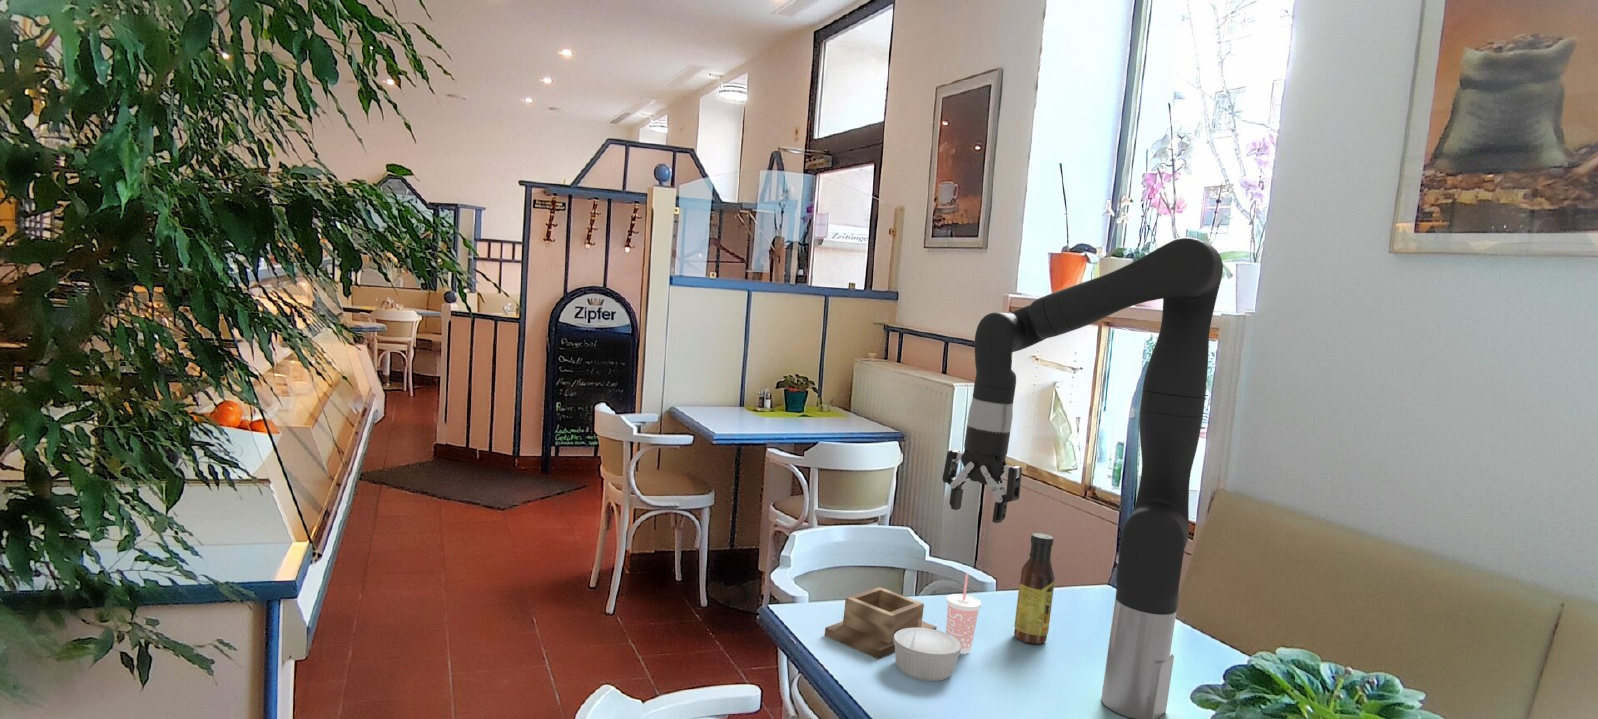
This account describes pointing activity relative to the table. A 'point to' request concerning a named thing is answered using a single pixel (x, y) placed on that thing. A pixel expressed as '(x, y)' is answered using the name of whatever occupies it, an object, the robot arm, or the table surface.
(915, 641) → the ramekin
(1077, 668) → the table surface
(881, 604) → the cup holder
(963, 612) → the beverage cup
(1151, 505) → the robot arm
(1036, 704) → the table surface
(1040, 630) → the sauce bottle
